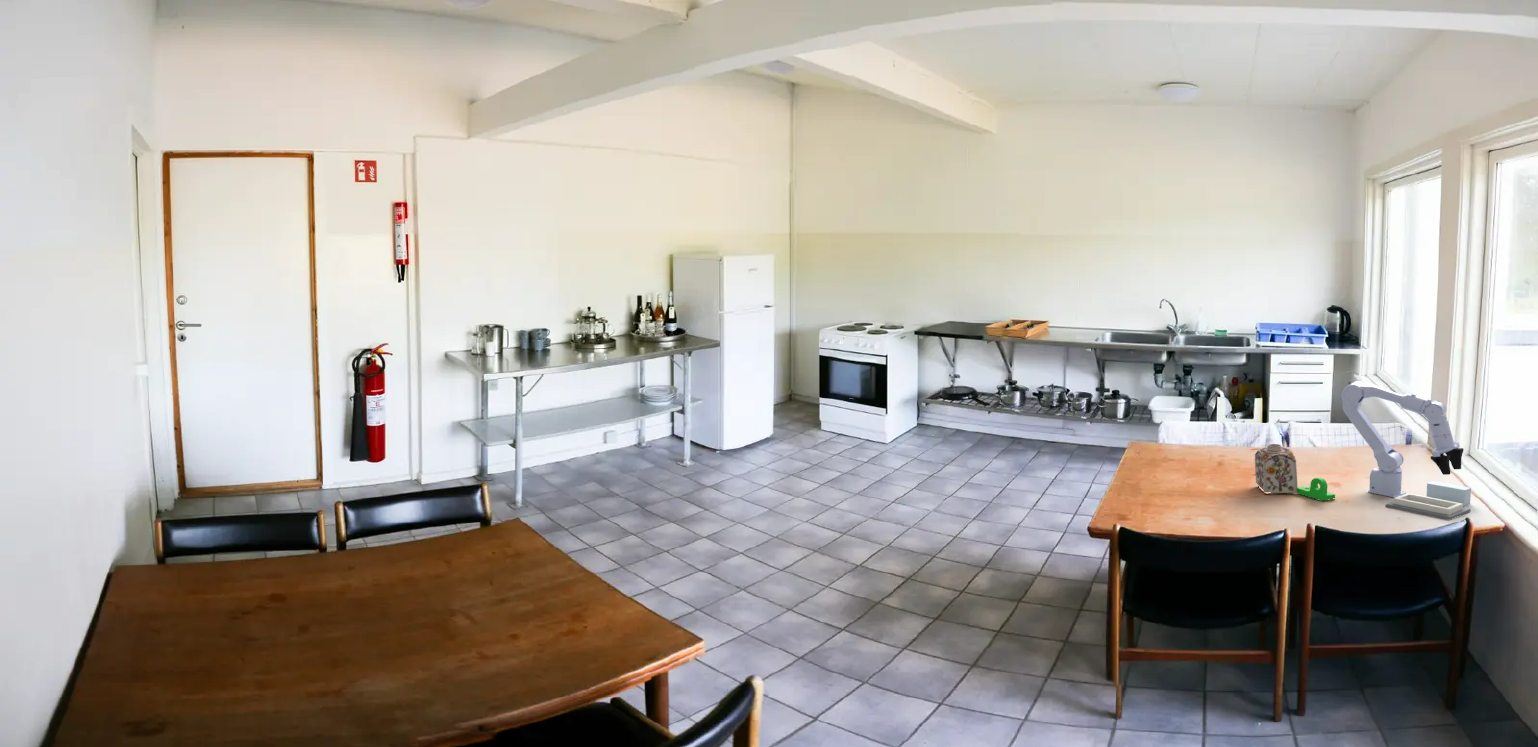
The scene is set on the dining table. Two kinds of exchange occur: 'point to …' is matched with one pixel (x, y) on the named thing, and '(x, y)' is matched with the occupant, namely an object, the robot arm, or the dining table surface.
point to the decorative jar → (1276, 469)
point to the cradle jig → (1428, 506)
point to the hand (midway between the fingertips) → (1452, 471)
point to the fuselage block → (1449, 492)
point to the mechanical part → (1316, 490)
